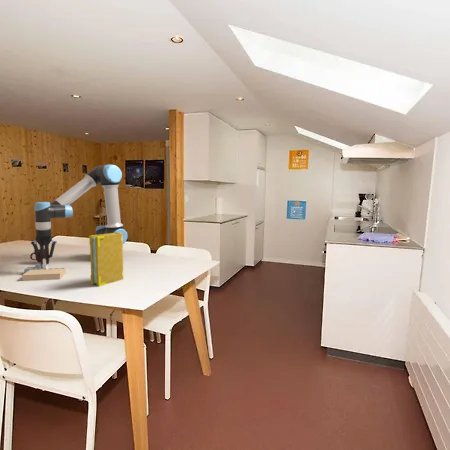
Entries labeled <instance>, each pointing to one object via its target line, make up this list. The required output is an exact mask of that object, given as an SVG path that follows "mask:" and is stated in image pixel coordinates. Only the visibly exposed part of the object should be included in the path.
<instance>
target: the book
mask: <svg viewBox="0 0 450 450" xmlns="http://www.w3.org/2000/svg"><path fill="white" fill-rule="evenodd" d="M88 238H89V239H88V240H89V249H90V251H89V254H90V285H94V286H95V285H96V286H97V287H101V286H105V285H107V284H111V283H115V282H118V281H122V280H124V249H123V248H124V244H123V233H109V234H101V235H96V234H94V235H93V234H92V235H89V236H88Z"/></svg>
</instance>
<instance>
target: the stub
mask: <svg viewBox="0 0 450 450" xmlns="http://www.w3.org/2000/svg"><path fill="white" fill-rule="evenodd" d="M31 269H43V264H41V263H38V262H37V263H35V265H34V266H27V267H26V268H24V269H23V270H24V273H23V274H25V273H26V272H28V271H29V270H31Z"/></svg>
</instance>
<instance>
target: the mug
mask: <svg viewBox="0 0 450 450" xmlns="http://www.w3.org/2000/svg"><path fill="white" fill-rule="evenodd" d="M38 249H39V253H40V246H39V247H38ZM33 255H34V256H35V258H33ZM29 258H30V260H32V261H36V262H37V263H41V259H40V258H37V256H36V253H35V250H33V252H32V253H30V255H29ZM44 258H45V246H44Z"/></svg>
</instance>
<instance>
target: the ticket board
mask: <svg viewBox="0 0 450 450" xmlns="http://www.w3.org/2000/svg"><path fill="white" fill-rule="evenodd" d="M66 274H67V269H66V268H65V267H60V268H58V267H56V268H47V269H31V270H29V271H28V272H26V273H23V274H22V275H21V281H22V282H25V281H44V280H45V281H47V280H48V281H49V280H50V281H51V280H60V279H62V278H63V277H64V276H65V275H66Z"/></svg>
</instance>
